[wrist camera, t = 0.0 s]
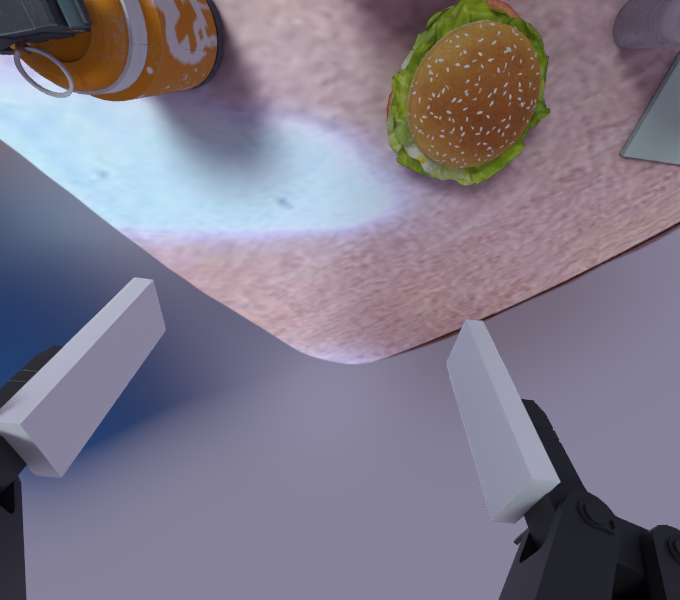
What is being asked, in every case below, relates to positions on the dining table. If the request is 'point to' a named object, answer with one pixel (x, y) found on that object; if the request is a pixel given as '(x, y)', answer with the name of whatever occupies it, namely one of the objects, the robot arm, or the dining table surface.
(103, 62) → the canister
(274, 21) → the dining table surface
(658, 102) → the rest pad
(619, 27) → the key peg
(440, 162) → the food
